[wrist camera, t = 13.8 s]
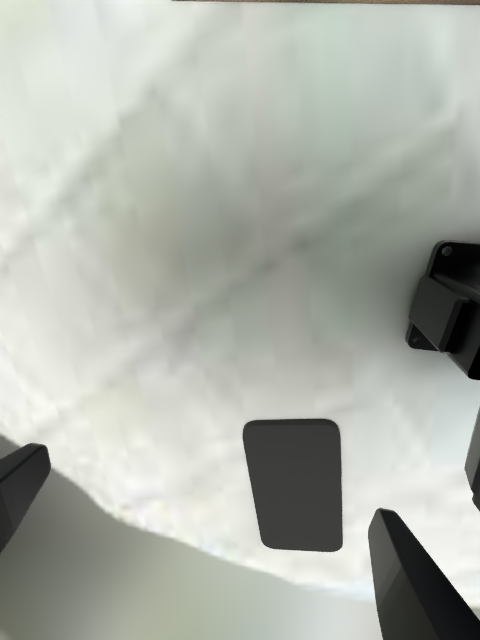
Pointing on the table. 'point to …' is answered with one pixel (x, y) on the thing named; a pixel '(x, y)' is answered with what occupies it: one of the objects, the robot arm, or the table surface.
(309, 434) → the phone
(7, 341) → the table surface
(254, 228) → the table surface
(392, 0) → the marked board
